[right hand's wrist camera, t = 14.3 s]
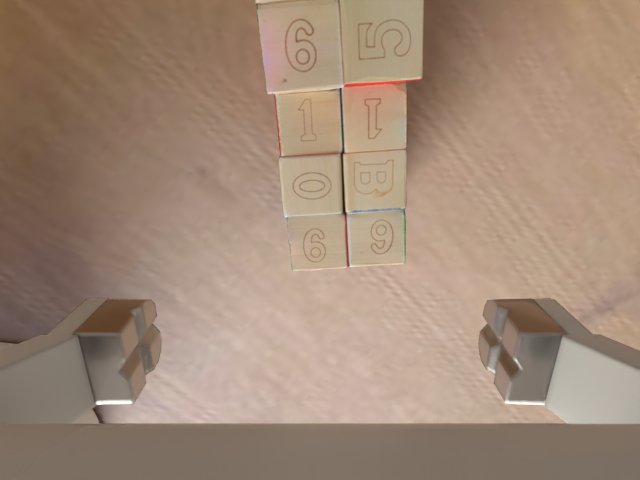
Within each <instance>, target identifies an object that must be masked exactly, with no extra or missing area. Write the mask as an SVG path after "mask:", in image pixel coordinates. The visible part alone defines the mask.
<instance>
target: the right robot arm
mask: <svg viewBox="0 0 640 480" xmlns="http://www.w3.org/2000/svg"><path fill="white" fill-rule="evenodd" d="M156 317H157V312H156V307H155V303H154V302H153V301H152V300H151V299H109V298H100V299H86V300H85V301H83V302H82V303H81V304H80V305H79V306H78V307H77V308H76V309H75V310H73V311H72V312H71V313H70V314H69V315H68V316H67V317H66V318H65V319H64V320H62V321H61V322H60V323H59V324H58V325H57V326H56V327H55V328H54V329H53V330H51V331H50V332H49V333H48V334H47V335H38V336H36V337H33V338H31V339H28V340H26V341H23V342H21V343H18V344H13V343H4V342H0V480H640V351H639V350H636V349H634V348H631V347H629V346H627V345H624V344H622V343H619V342H617V341H614V340H612V339H609V338H607V337H604V336H602V335H593V334H592V333H591V332H590V331H589V330H588V329H586V328H585V327H584V326H583V325H582V324H581V323H580V322H579V321H578V320H577V319H575V318H574V317H573V316H572V315H571V314H570V313H569V312H568V311H567V310H566V309H564V308H563V307H562V306H561V305H560V304H559V303H558V302H557V301H556V300H554V299H550V298H542V299H498V300H487V302H486V304H485V306H484V311H483V317H484V318H485V320H486V322H487V323H488V324H487V325H486V326H485V327H484V328H483V329H482V330H481V331H480V335H479V343H478V344H479V354H480V357H481V361H482V363H483V365H484V367H485V369H486V370H487V371H489V372H491V373H492V374H494V375H495V378H494V384H495V386H496V387H497V389H498V391H499V393H500V394H501V396H502V398H503V399H504V401H505V403H506V404H543V405H544V406H545V407H546V408H547V409H549V410H550V411H551V412H553V413H554V414H555V415H557V416H558V417H559V418H561V419H562V420H563V421H565V422H566V423H565V424H100V423H99V420H98V418H97V416H96V414H95V412H94V411H93V408H94V407H95V405H97V404H132V403H135V401H136V399H137V398H138V396H139V394H140V393H141V391H142V389H143V387H144V386H145V384H146V378H145V375H146V374H148V373H149V372H151V371H153V370H154V369H155V367H156V365H157V363H158V361H159V357H160V353H161V335H160V331H159V330H158V329H157V328H156V327H155V326H154V325H153V324H152V323H153V322H154V320H155V318H156Z"/></svg>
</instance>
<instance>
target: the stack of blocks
mask: <svg viewBox="0 0 640 480" xmlns="http://www.w3.org/2000/svg"><path fill="white" fill-rule="evenodd" d="M255 2H256V6H257V19H258V27H259V35H260V43H261V51H262V59H263V67H264V75H265V83H266V91H267V94H274V95H275V105H276V116H277V126H278V137H279V148H280V157H279V170H280V182H281V192H282V201H283V210H284V216H285V217H286V218H287V225H288V236H289V246H290V257H291V267H292V271H304V270H320V269H341V268H347V267H360V266H377V265H395V264H404V263H405V259H406V258H405V230H406V225H405V208H406V187H407V152H406V147H407V87H406V82H408V81H414V80H421V79H422V78H423V14H424V0H255Z"/></svg>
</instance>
